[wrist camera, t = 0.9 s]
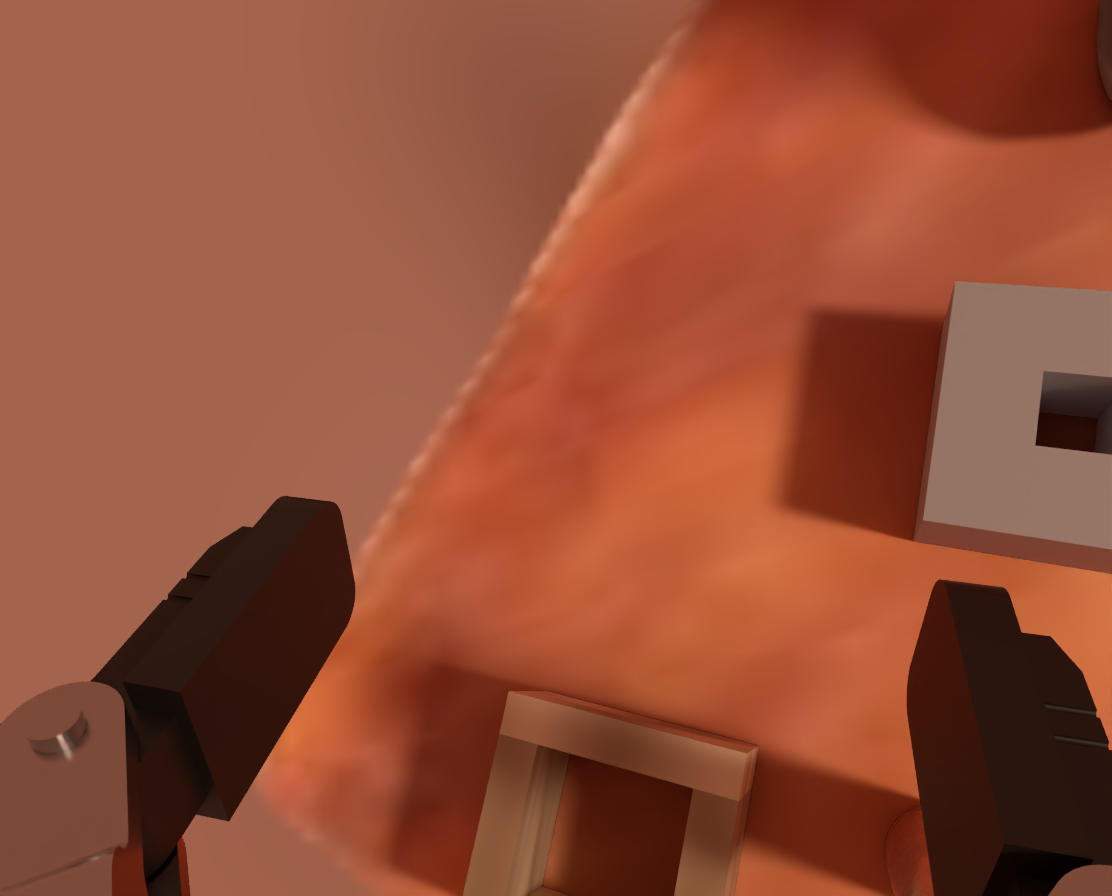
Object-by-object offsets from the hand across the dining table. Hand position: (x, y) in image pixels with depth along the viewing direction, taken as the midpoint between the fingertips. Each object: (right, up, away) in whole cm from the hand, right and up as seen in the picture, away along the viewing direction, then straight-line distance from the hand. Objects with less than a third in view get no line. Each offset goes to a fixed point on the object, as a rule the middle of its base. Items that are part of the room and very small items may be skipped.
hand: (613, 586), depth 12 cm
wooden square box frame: (+2, -12, +19) cm, 22 cm away
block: (+16, +2, +18) cm, 24 cm away
